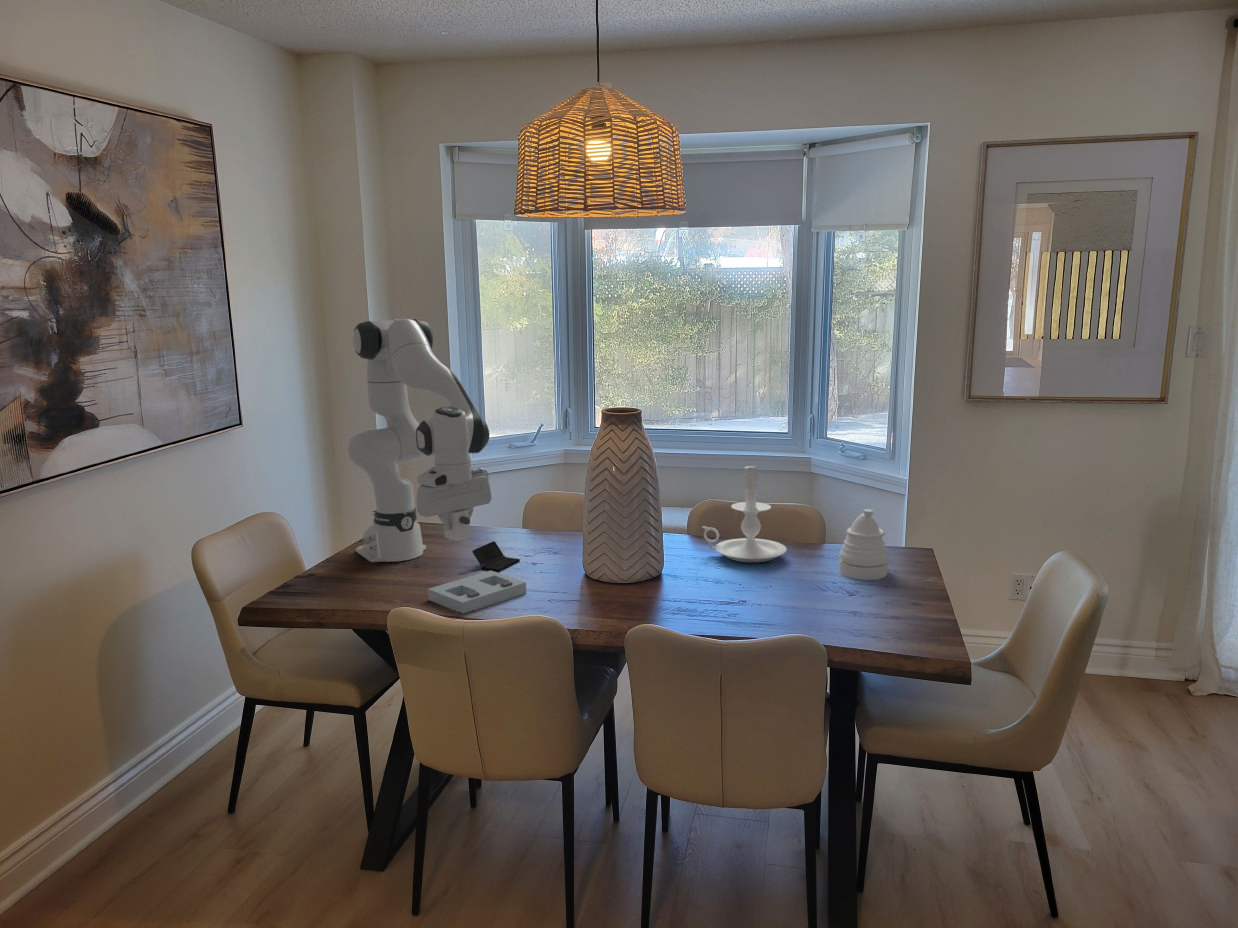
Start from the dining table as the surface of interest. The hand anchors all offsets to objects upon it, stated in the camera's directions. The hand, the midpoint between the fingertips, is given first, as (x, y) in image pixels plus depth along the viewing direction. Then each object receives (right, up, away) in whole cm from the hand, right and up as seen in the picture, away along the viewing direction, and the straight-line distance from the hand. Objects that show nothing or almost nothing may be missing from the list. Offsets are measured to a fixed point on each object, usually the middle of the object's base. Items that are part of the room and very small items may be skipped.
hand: (456, 527), depth 215 cm
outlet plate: (+4, -18, +8) cm, 20 cm away
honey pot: (+108, -14, +22) cm, 111 cm away
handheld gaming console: (+5, -14, +34) cm, 37 cm away
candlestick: (+77, -12, +36) cm, 86 cm away
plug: (0, -4, +1) cm, 4 cm away
